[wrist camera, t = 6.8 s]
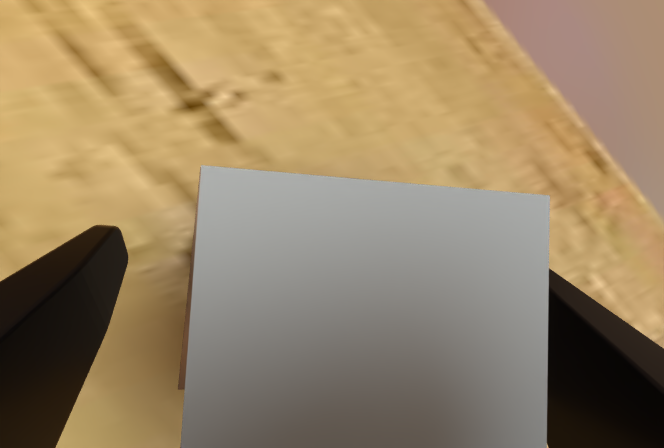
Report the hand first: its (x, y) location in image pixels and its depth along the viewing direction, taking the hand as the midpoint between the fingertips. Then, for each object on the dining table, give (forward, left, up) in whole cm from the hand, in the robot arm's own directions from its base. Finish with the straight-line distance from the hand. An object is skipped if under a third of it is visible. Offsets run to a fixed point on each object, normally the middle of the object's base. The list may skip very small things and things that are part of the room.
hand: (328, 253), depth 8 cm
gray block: (-1, 0, -9) cm, 9 cm away
